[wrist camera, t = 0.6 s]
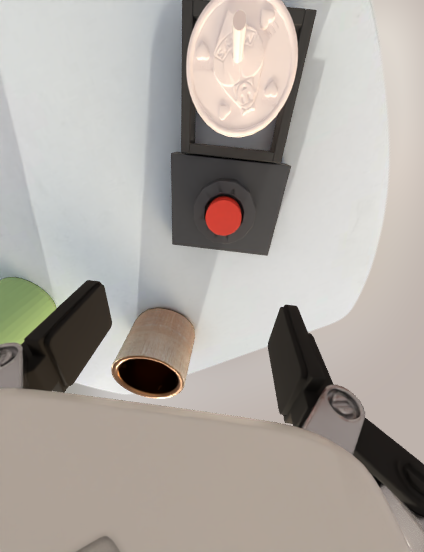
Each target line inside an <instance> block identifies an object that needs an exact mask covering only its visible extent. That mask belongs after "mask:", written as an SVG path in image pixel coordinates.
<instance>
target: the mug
mask: <svg viewBox="0 0 424 552" xmlns="http://www.w3.org/2000/svg"><path fill="white" fill-rule="evenodd" d="M55 310H56V306H55V303H54V302H53V300H52V298H51V297H50V296H49V295H48V294H47V293H46V292H45V291H44V290H43V289H41V288H40V287H39V286H37V285H35V284H33V283H31V282H29V281H27V280H24V279H21V278H15V277H8V278H4V279H2V280H0V344H4V343H12V342H15V343H19V344H20V345H21V344H22V343H23V342H24V341H25V340H24V338H25V337H27V336H28V335H29V334H30V333H31V332H32V331H33V330H34V329H35V328H36V327H37V326H38V325H39V324H41V323H42V322H43V321H44V320H45V319H46V318H47V317H48V316H49V315H50V314H51V313H52V312H53V311H55Z"/></svg>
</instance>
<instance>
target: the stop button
mask: <svg viewBox="0 0 424 552" xmlns="http://www.w3.org/2000/svg"><path fill="white" fill-rule="evenodd" d="M205 219H206V224H207V226H208V228H209V229H210V230H211V231H212V232H213V233H215V234H217V235H223V236H224V235H229V234H232V233H233V232H235V231H236V230H237V229H238V227H239V226H240V223H241V209H240V206H239V204H238V203H237V201H236V200H234V199H233V198H231V197H228V196H221V197H217V198H216V199H214V200H213V201H212V202H211V203H210V205H209V207H208V209H207V212H206V216H205Z"/></svg>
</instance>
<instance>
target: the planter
mask: <svg viewBox="0 0 424 552" xmlns="http://www.w3.org/2000/svg"><path fill="white" fill-rule="evenodd" d="M194 339H195V332H194V328H193V326H192V324H191V323H190V322H189V321H188V320H187V319H186V318H185V317H184V316H182V315H181V314H179V313H177V312H174V311H171V310H168V309H150V310H147V311H145V312H143V313H142V314H140V315H139V317H138V318H137V319H136V321H135V323H134V324H133V326H132V328H131V330H130V332H129V334H128V336H127V338H126V340H125V342H124V344H123V346H122V348H121V349H120V351H119V353H118V355H117V357H116V359H115V361H114V362H113V365H112V367H111V372H112V375H113V377H114V379H115V380H116V381H117V382H118V383H119V384H120V385H121V386H122V387H124V388H125V389H127V390H128V391H130V392H132V393H135V394H138V395H141V396H144V397H149V398H167V397H172V396H175V395H177V394H178V393H180V392H181V391H182V390H183V388H184V385H185V380H186V376H187V371H188V366H189V362H190V357H191V353H192V348H193V344H194Z"/></svg>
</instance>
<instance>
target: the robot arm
mask: <svg viewBox="0 0 424 552" xmlns="http://www.w3.org/2000/svg"><path fill="white" fill-rule="evenodd" d="M111 325H112V320H111V315H110V311H109V306H108V302H107V297H106V292H105V288H104V285H102V284H101V283H100V282H99V281H91V280H87V281H86V282H85V283H84V284H83V285H82V286H80V287H79V288H78V289H77V290H76V291H75V292H74V293H73V294H72V295H71V296H70V297H69V298H68V299H66V300H65V301H64V302H63V303H62V304H61V305H60V306H59V307H58V308H57V309H56V310H55V311H53V312H52V313H51V314H50V315H49V316H48V317H47V318H46V319H45V320H44V321H43V322H42V323H41V324H39V325H38V326H37V327H36V328H35V329H34V330H33V331H32V332H31V333H30V334H29V335H28V336H27V337H25V338H24V340H25V341H24V342H23V343H22V344H21V345H20V344H19V343H15V342H12V343H4V344H0V552H424V464H423V463H421V462H420V461H419V460H418V459H417V458H415V457H414V456H413V455H412V454H410V453H409V452H408V451H406V450H405V449H404V448H403V447H401V446H400V445H399V444H398V443H396V442H395V441H394V440H393V439H391V438H390V437H389V436H387V435H386V434H385V433H384V432H382V431H381V430H380V429H379V428H378V427H376V426H375V425H374V424H372V423H371V422H370V421H369V420H368V419H366V418H365V411H364V408H363V406H362V404H361V402H360V401H359V399H358V398H357V397H356V396H355V395H354V394H353V393H352V392H350V391H349V390H347V389H346V388H344V387H342V386H338V385H333V382H332V380H331V378H330V376H329V373H328V370H327V368H326V366H325V363H324V361H323V359H322V356H321V354H320V352H319V349H318V347H317V345H316V342H315V340H314V337H313V336H312V334H310V333H308V332H307V329H306V327H305V324H304V322H303V320H302V317H301V315H300V312H299V310H298V307H297V306H292V305H284V307H281V308H280V310H279V313H278V316H277V318H276V321H275V324H274V327H273V330H272V333H271V336H270V339H269V342H268V351H269V357H270V362H271V368H272V373H273V379H274V385H275V391H276V397H277V402H278V408H279V412H280V414H282V415H283V416H284V421H285V423H291V424H293V426H291V425H286V424H281V423H276V422H270V421H264V420H257V419H251V418H245V417H238V416H232V415H224V414H217V413H210V412H203V411H195V410H189V409H182V408H175V407H167V406H160V405H152V404H145V403H138V402H131V401H123V400H116V399H108V398H100V397H93V396H85V395H77V394H70V393H64V392H65V391H66V389H67V388H68V386H71V385H72V384H73V383H74V382H75V380H76V379H77V377H78V376H79V374H80V373H81V371H82V370H83V368H84V367H85V365H86V364H87V362H88V361H89V359H90V358H91V356H92V355H93V354H94V352H95V351H96V349H97V348H98V346H99V345H100V343H101V342H102V340H103V339H104V337H105V336H106V334H107V333H108V331H109V330H110V328H111ZM52 391H55V392H52ZM61 392H63V393H61Z"/></svg>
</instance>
